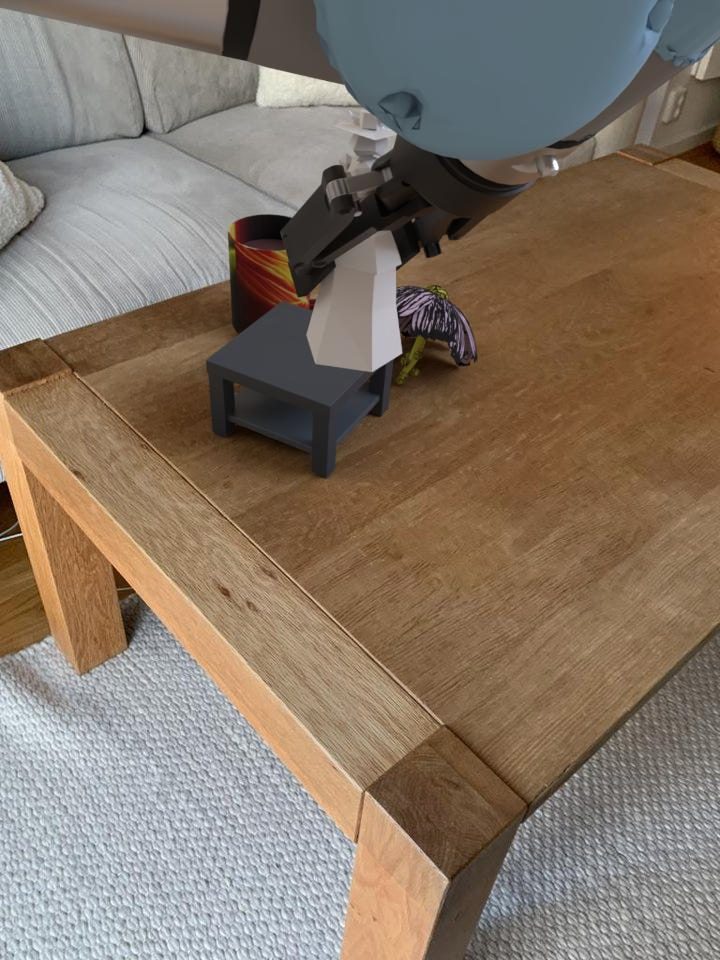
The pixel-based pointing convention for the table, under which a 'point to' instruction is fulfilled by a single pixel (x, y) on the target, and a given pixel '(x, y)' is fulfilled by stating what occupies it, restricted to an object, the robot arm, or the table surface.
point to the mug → (259, 269)
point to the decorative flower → (432, 326)
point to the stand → (291, 388)
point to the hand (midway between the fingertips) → (337, 271)
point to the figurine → (359, 279)
